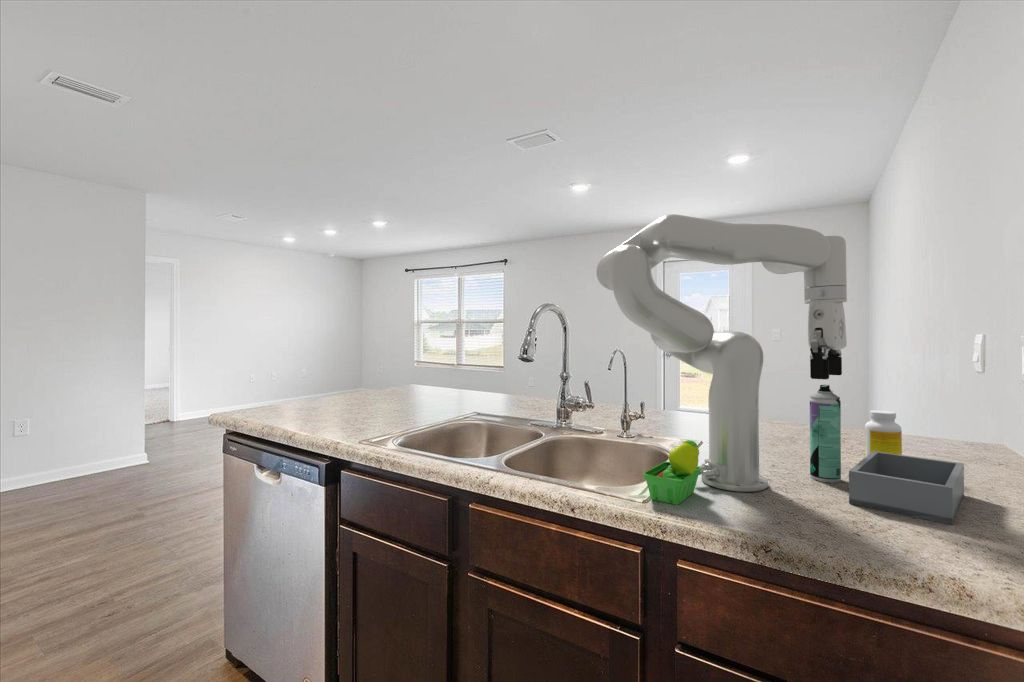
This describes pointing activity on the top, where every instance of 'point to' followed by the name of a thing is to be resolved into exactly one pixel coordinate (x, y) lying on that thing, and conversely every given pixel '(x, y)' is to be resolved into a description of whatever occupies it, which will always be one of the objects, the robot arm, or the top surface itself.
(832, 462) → the spray can
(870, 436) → the supplement bottle
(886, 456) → the bin
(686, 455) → the fruit basket
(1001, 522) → the top surface
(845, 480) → the top surface
